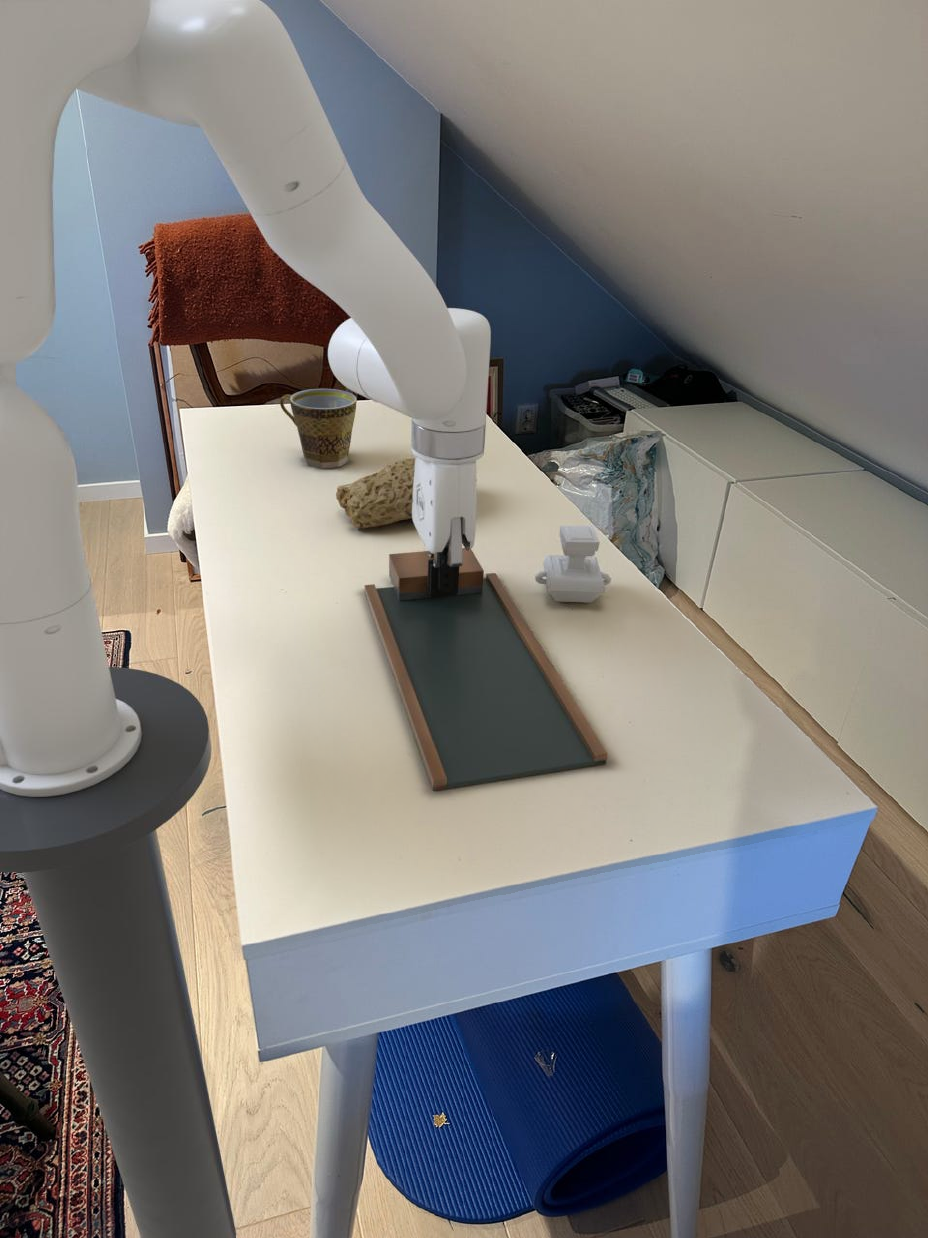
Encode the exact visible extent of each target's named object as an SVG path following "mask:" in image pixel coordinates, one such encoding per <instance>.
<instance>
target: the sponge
mask: <svg viewBox="0 0 928 1238" xmlns="http://www.w3.org/2000/svg"><path fill="white" fill-rule="evenodd" d="M414 468H415V458H406V459H404V460H399V461H396V462H394V463H392V464H390V465H388V466H385V467H383V468H382V469H380V470H379V472H375V473H372V474H368V475H365V476H363V477H361V478H359V479H357V480H355V481H354V482H352V483H347V484H346V483H345V484H341V485H338V486H337V487H336V493H335V497H336V500H337V502H338V504H339V506H340V508H342V509H344V512H345V514H346V515H347V516H348V517H349V518H350V523H351V524H352V526H353V528H354V529H367V528H374V527H379V526H380V527H381V526H387V525H391V524H393V523H397V522H399V521H407V520H410V519H412V500H413V483H414Z"/></svg>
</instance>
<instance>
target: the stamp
mask: <svg viewBox="0 0 928 1238" xmlns="http://www.w3.org/2000/svg"><path fill="white" fill-rule="evenodd" d="M558 535H559V536H558V537H559V540H560V544H561V548H562V553H563V555H560V554H559V555H558V554H548V555H546V556H545V558H544V560H543V562H542V564H543V571H539V572H538V573H537V574H536V575H535V576H534V577H535V578H534V581H536V582H537V583H538V584H540V585H544V586H546V587H547V591H548V593H549V594H550V595H551V597H552V599H553V600H554V602H563V603H564V602H566V603H567V602H570V603H593V602H594V601H595V600H596V599H598V598H600V597H602V595H603V594H605V593H606V586H608V585H610V584H611V581H612V578H611V577H610V574H608V573H606V572H602V571H601V569H600V565H599V562H598V561H599V560H598V558H597V557H596V556H595V555H596V552H598V551H599V547H600V543H601V542H600V539H599V537H598V535H597V532H596V530H595V528H594V525H559V533H558Z"/></svg>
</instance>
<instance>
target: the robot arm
mask: <svg viewBox="0 0 928 1238" xmlns="http://www.w3.org/2000/svg"><path fill="white" fill-rule="evenodd" d="M76 90H79V91H82V92H84V93H87V94H89V95H92V96H94V97H97V98H100V99H102V100H105V101H108V102H110V103H112V104H116V105H118V106H121V107H123V108H127V109H130V110H133V111H136V112H139V113H142V114H145V115H148V116H150V117H151V116H152V117H154V118H158V119H161V120H163V121H167V122H171V123H175V124H178V125H183V126H188V127H189V126H190V127H195V128H201V130H202V132H203V133H204V135H205V137H206V139H207V140H208V142H209V144H210V146H211V147H212V149H213V151H214V153H215V154H216V156H217V158H218V159H219V160H220V162H221V164H222V165H223V167H224V169H225V171H226V173H227V174H228V176H229V178H230V180H231V182H232V184H233V185H234V187H235V188H236V190H237V192H238V194H239V196H240V197H241V199H242V201H243V203H244V204H245V206H246V208H247V210H248V211H249V213H250V215H251V217H252V219H253V220H254V222H255V224H256V226H257V228H258V229H259V231H260V233H261V235H262V237H263V238H264V240H265V242H266V243H267V245H268V246H269V247H270V249H271V250H272V251H273V252H274V253H275V254H276V255H277V256H278V257H279V258H280V259H281V260H282V261H284V263H285V264H286V265H287V266H289V268H291V270H293V271H294V272H295V273H296V274H298V276H300V277H301V278H303V279H304V280H306V281H307V282H308V283H310V284H311V285H312V286H314V287H315V288H317V289H318V290H319V291H321V292H322V293H323V294H325V295H326V296H327V297H328V298H329V299H331V301H333V302H334V303H336V304H337V305H338V306H339V307H340V308H341V309H342V310H343V311H344V312H345V313H346V315H348V316H349V317H350V318H348V319H346V320H344V322H342V323H341V324H340V325H339V326H338V327H337V328H336V329H335V331H334V332H333V333H332V335H331V338H330V340H329V343H328V347H327V359H328V364H329V367H330V370H331V373H333V375H334V377H335V378H336V379H337V380H338V382H340V383H341V385H342V386H344V387H345V388H346V389H348V390H350V391H352V392H353V393H355V394H357V395H360V396H361V397H364V398H366V399H369V400H371V401H373V402H375V403H378V404H381V405H383V406H385V407H387V408H389V409H391V410H393V411H396V412H397V413H400V414H402V415H404V416H407V417H409V418H411V445H410V447H411V448H410V449H411V453H412V455H413V456H414V457H415V468H414V483H413V500H412V518H411V520H412V522H413V525H414V527H415V530H416V532H417V533H418V535H419V537H420V539H421V542H422V543H423V545H424V547H425V549H426V551H428V553H429V558H433V559H430V560H428V585H427V588H428V591H429V592H430V595H431V596H432V597H441V596H451V595H456V594H458V585H459V566H462V548H465V549H466V550H467V551H469V550H473V548H474V546H475V540H476V529H477V497H478V496H477V495H478V494H477V490H478V489H477V486H478V485H477V482H478V479H477V461H478V460H480V459H481V458H482V457H483V456H484V455H485V446H486V445H485V443H486V429H487V428H486V425H487V410H488V393H489V391H488V390H489V377H490V376H489V375H490V360H491V359H490V358H491V343H492V338H491V337H492V331H491V330H492V329H491V325H490V322H489V321H488V318H486V317H485V316H484V315H483V314H481V313H479V312H476V311H475V310H469V309H464V308H458V307H457V308H456V307H447V305H446V302H445V300H444V299H443V295H441V293H440V291H439V289H438V288H437V285H436V283H434V281H433V279H432V278H431V277H430V275H429V274H428V272H427V270H426V269H425V268H424V267H423V266H422V264H421V263H420V262H419V260H418V259H417V258H416V256H414V254H413V253H412V252H411V251H410V249H409V248H408V247H407V246H406V245H405V243H404V242H402V240H401V238H400V237H399V236H398V235H397V234H396V233H395V231H394V230H393V229H392V227H391V226H390V225H389V224H388V222H387V221H386V220H385V219H384V217H382V215H381V214H380V213H379V212H378V211H377V210H376V209H375V207H374V206H373V205H372V204H371V203H370V202H369V201H368V199H367V198H366V197H365V195H364V194H363V192H362V189H361V188H360V186H359V184H358V182H357V180H356V177H355V175H354V173H353V171H352V169H351V167H350V165H349V163H348V160H347V158H346V156H345V154H344V152H343V150H342V148H341V146H340V145H341V144H340V143H339V141H338V138H337V137H336V134H335V132H334V130H333V128H332V125H331V124H330V122H329V118H328V117H327V115H326V113H325V111H324V108H323V106H322V103H321V102H320V101H321V100H320V99H319V97H318V94H317V93H316V91H315V88H314V86H313V83H312V82H311V79H310V78H309V75H308V73H307V71H306V69H305V67H304V64H303V62H302V60H301V57H300V56H299V53H298V51H297V49H296V47H295V45H294V43H293V41H292V39H291V36H290V35H289V32H288V30H287V29H286V27H285V26H284V24H283V23H282V21H281V19H280V18H279V17H278V15H277V14H276V13H275V12H274V11H273V9H271V8H270V7H269V6H268V5H267V4H266V3H265V2H263V1H262V0H0V789H1V790H3V791H5V792H8V793H12V794H15V795H20V796H29V797H49V796H56V795H63V794H67V793H71V792H75V791H79V790H82V789H85V788H87V787H90V786H92V785H95V784H97V783H99V782H101V781H103V780H105V779H106V778H108V777H110V776H111V775H113V774H114V773H116V772H117V771H118V770H120V769H121V768H122V767H123V766H124V765H125V764H126V763H127V762H129V761H130V759H131V758H132V757H133V755H134V754H135V753H136V751H137V749H138V747H139V745H140V742H141V736H142V732H141V725H140V721H139V718H138V715H137V714H136V712H135V711H134V710H133V709H132V708H131V707H130V706H129V705H127V704H126V703H124V702H122V701H120V700H118V699H116V698H115V693H114V689H113V684H112V679H111V674H110V669H109V667H110V664H109V661H108V656H107V655H108V654H107V651H106V646H105V642H104V637H103V632H102V626H101V622H100V617H99V613H98V609H97V608H98V607H97V603H96V597H95V593H94V588H93V584H92V579H91V577H90V571H89V566H88V561H87V556H86V552H85V545H84V540H83V534H82V525H81V518H80V503H79V501H80V500H79V484H78V472H77V467H76V461H75V458H74V454H73V450H72V449H71V445H70V443H69V441H68V439H67V438H66V434H65V433H64V432H63V430H62V428H61V427H60V425H59V424H58V423H57V421H56V419H54V418H53V416H52V415H51V414H50V413H49V412H48V411H47V409H46V408H45V407H43V406H42V405H41V404H40V402H38V401H37V400H36V399H35V398H33V397H32V396H31V395H30V394H28V393H27V392H26V391H25V390H23V389H22V388H21V387H19V386H18V385H17V371H16V370H17V364H16V363H18V362H22V361H24V360H26V359H28V358H29V357H31V356H32V355H34V354H35V353H36V352H37V351H38V350H39V349H40V348H41V347H42V346H43V344H44V343H45V342H46V340H47V339H48V337H49V335H50V333H51V330H52V328H53V325H54V319H55V313H56V306H57V305H56V304H57V301H56V300H57V299H56V298H57V297H56V276H55V274H56V273H55V243H54V242H55V241H54V240H55V239H54V235H55V234H54V233H55V232H54V197H53V196H54V195H53V192H54V191H53V190H54V189H53V186H54V171H55V170H54V169H55V168H54V167H55V149H56V140H57V135H58V128H59V124H60V121H61V118H62V115H63V112H64V110H65V108H66V106H67V104H68V102H69V100H70V98H71V97H72V95H74V92H75V91H76Z"/></svg>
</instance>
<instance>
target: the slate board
mask: <svg viewBox="0 0 928 1238" xmlns="http://www.w3.org/2000/svg"><path fill="white" fill-rule="evenodd" d="M376 587H377V586H376V585H375V583H373V584H365V585H364V596H365V599H366V601H367V604H368V608H369V610H370V613H371V616H372V619H373V621H374V625H375V627H376V630H377V633H378V637H379V640H380V642H381V645H382V648H383V650H384V653H385V656H386V659H387V663H388V665H389V667H390V671H391V673H392V676H393V679H394V682H395V685H396V688H397V691H398V693H399V697H400V699H401V702H402V706H403V708H404V711H405V714H406V716H407V720H408V722H409V725H410V728H411V731H412V734H413V737H414V740H415V743H416V746H417V748H418V752H419V755H420V757H421V760H422V763H423V766H424V769H425V771H426V772H425V773H426V775H427V777H428V781H429V783H430V786H431V789H432V791H433V792H434V791H435V792H436V791H442V790H448V789H454V788H460V787H467V786H473V785H478V784H479V785H480V784H485V783H492V782H499V781H504V780H511V779H519V778H524V777H530V776H537V775H543V774H549V773H557V772H562V771H569V770H575V769H582V768H589V767H592V766H593V767H595V766H600V765H606V764H607V760H608V751H606V749H605V747H604V745H603V744H602V742H601V741H600V739H599V737H598V735H597V734H596V733H595V731H594V729H593V728H592V726H591V725H590V723H589V721H588V719H587V717H586V716H585V715H584V713H583V711H582V710H581V709H580V707H579V705H578V704H577V702H576V701H575V699H574V697H573V696H572V694H571V692H570V691H569V689H568V688H567V685H565V682H564V681H563V680H562V678H561V676H560V675H559V673H558V671H557V670H556V668H555V667H554V665H553V663H552V661H551V660H550V658H549V656H548V655H547V653H546V652H545V651H544V649H543V647H542V645H541V644H540V643H539V641H538V639H537V638H536V636H535V634H534V633H533V631H532V630H531V628H530V626H529V625H528V623H527V622H526V620H525V618H524V617H523V615H522V614H521V612H520V610H519V609H518V607H517V606H516V604H515V602H514V601H513V599H512V597H511V595H510V594H509V593H508V591H507V589H506V588H505V586H504V584H503V582H502V581H501V580H500V578H499V576H498V574H497V573H496V572H491V573H485V577H483V591H482V593H474V594H464V595H454V596H443V597H433V598H423V599H412V600H402V601H399V599H398V597H397V594H396V592H395V589H394V587H393V586H389V587H379V588H376Z"/></svg>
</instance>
